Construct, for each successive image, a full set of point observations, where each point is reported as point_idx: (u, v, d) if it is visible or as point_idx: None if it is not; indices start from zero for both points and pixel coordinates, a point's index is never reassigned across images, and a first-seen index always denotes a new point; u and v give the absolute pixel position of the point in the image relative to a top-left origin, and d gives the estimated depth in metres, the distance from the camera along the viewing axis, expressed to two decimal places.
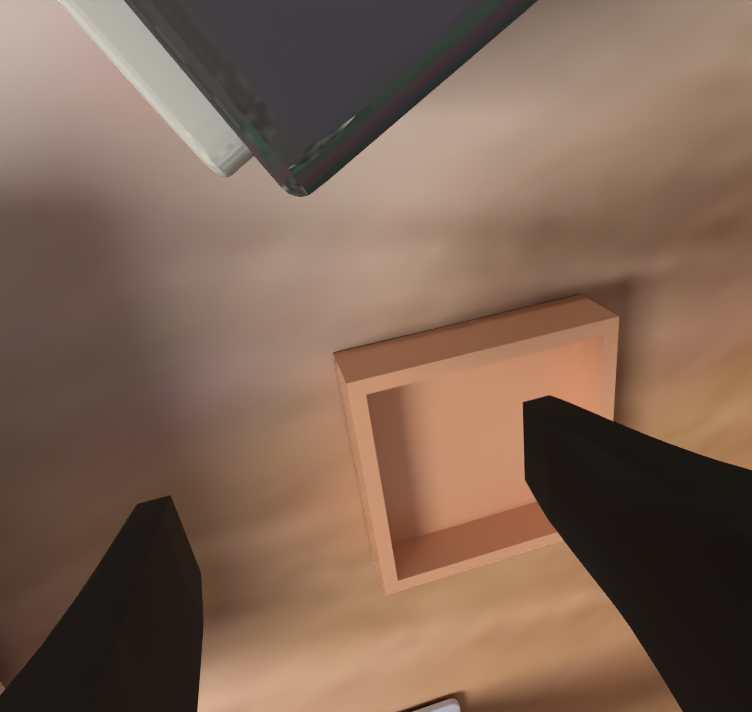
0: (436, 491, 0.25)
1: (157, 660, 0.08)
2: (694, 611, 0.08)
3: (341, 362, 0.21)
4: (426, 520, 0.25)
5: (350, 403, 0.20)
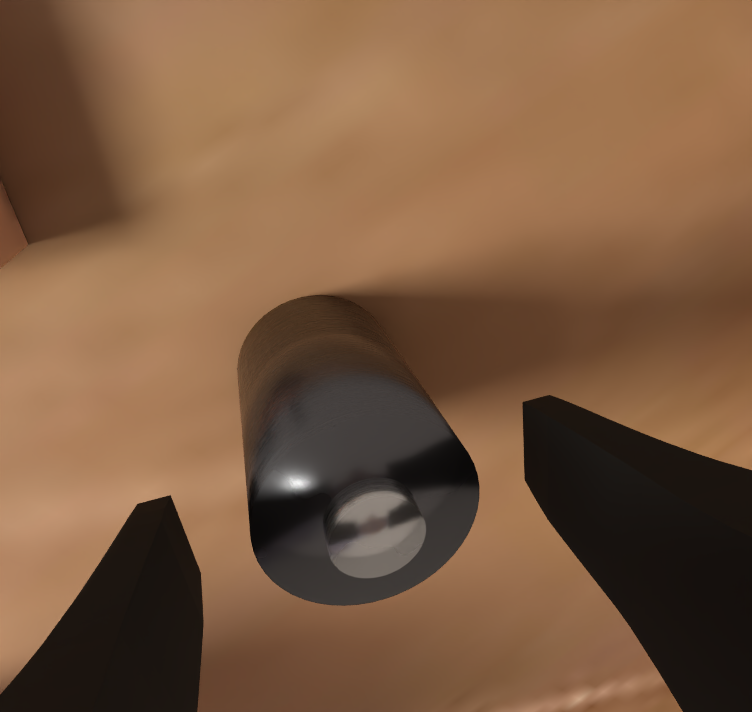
0: None
1: (157, 660, 0.08)
2: (694, 611, 0.08)
3: None
4: None
5: None
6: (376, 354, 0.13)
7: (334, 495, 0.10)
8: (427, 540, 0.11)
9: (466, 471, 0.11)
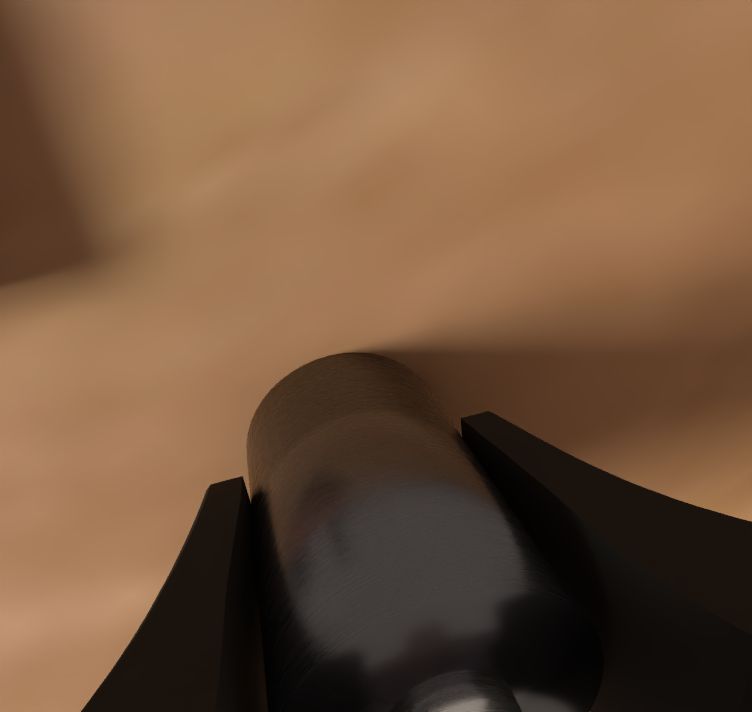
0: None
1: (249, 632, 0.08)
2: (607, 641, 0.08)
3: None
4: None
5: None
6: (443, 456, 0.09)
7: (397, 700, 0.07)
8: None
9: (589, 651, 0.07)
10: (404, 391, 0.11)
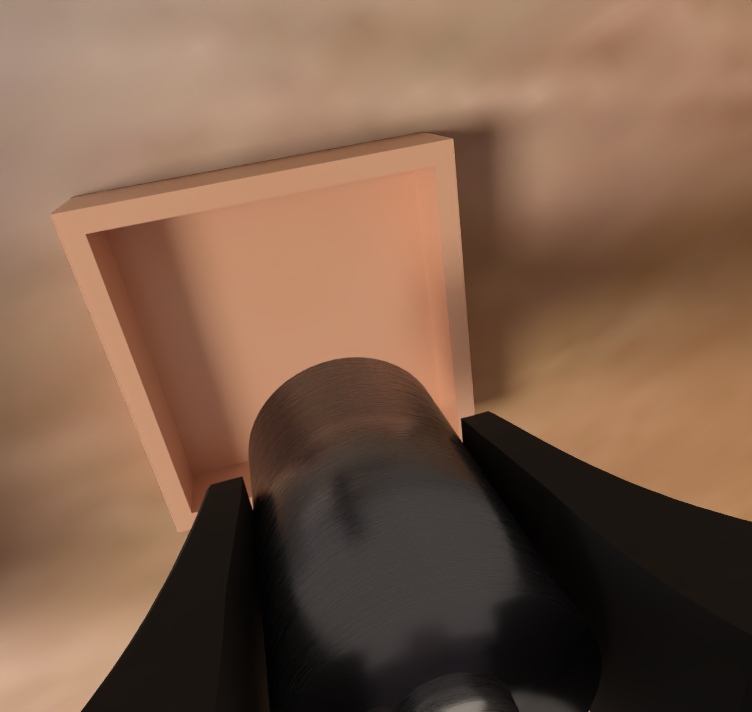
0: (252, 401, 0.19)
1: (249, 632, 0.08)
2: (607, 641, 0.08)
3: (71, 201, 0.15)
4: (245, 441, 0.20)
5: (64, 247, 0.14)
6: (432, 459, 0.09)
7: (394, 706, 0.07)
8: None
9: (584, 646, 0.07)
10: (396, 393, 0.11)
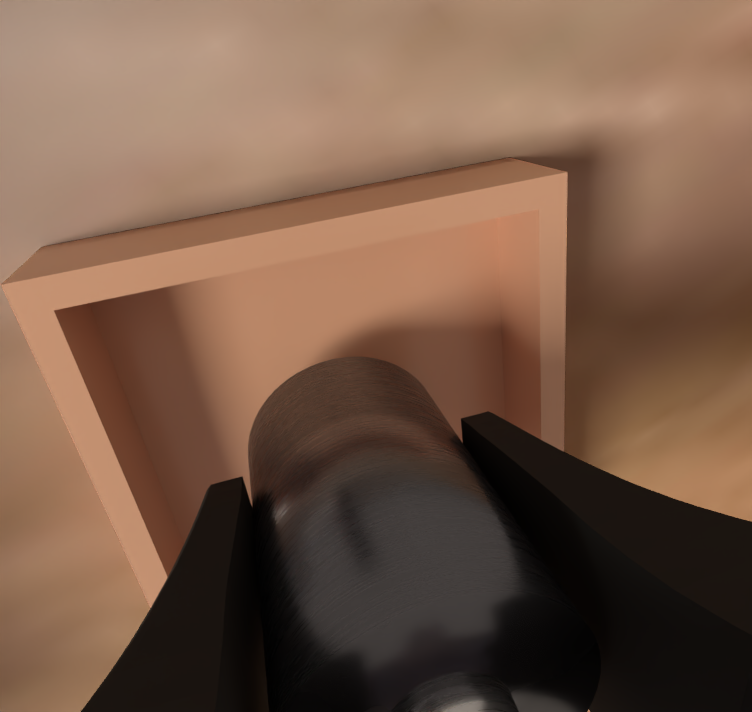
0: None
1: (249, 632, 0.08)
2: (607, 641, 0.08)
3: (37, 257, 0.11)
4: None
5: (24, 328, 0.10)
6: (432, 458, 0.09)
7: (393, 706, 0.07)
8: None
9: (583, 646, 0.07)
10: (396, 393, 0.11)
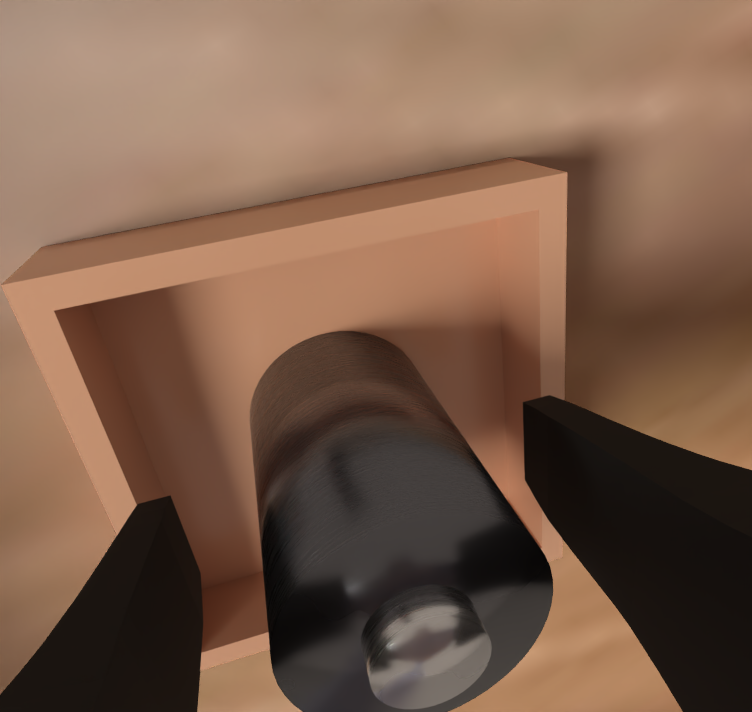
0: None
1: (157, 660, 0.08)
2: (694, 611, 0.08)
3: (37, 258, 0.11)
4: None
5: (24, 328, 0.10)
6: (411, 413, 0.10)
7: (372, 612, 0.08)
8: (491, 646, 0.09)
9: (536, 565, 0.09)
10: (382, 361, 0.12)
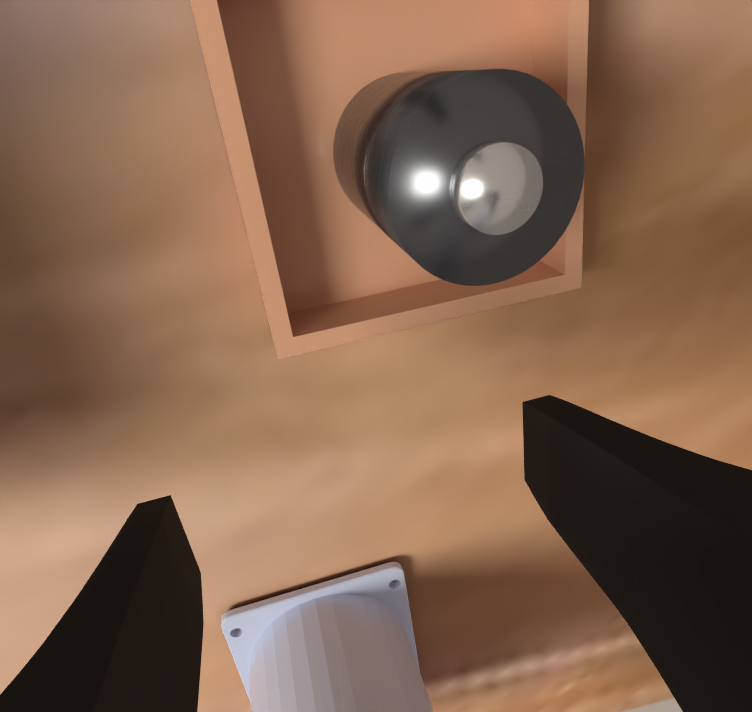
0: (351, 231, 0.18)
1: (157, 660, 0.08)
2: (694, 611, 0.08)
3: None
4: (340, 278, 0.19)
5: (191, 1, 0.13)
6: None
7: (459, 157, 0.12)
8: (539, 217, 0.13)
9: (573, 139, 0.12)
10: None
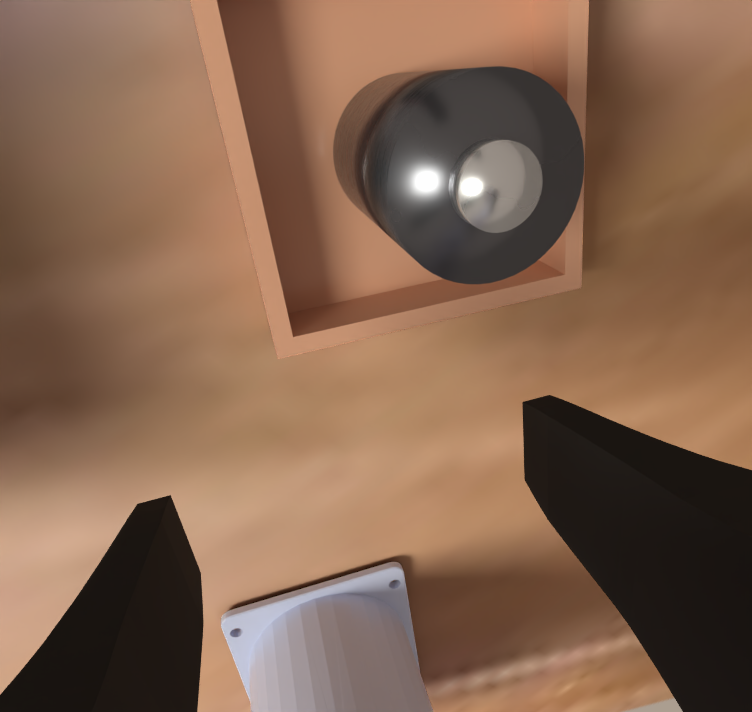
0: (351, 231, 0.18)
1: (157, 660, 0.08)
2: (694, 611, 0.08)
3: None
4: (340, 278, 0.19)
5: (191, 1, 0.13)
6: None
7: (457, 155, 0.12)
8: (538, 215, 0.13)
9: (572, 136, 0.12)
10: None
